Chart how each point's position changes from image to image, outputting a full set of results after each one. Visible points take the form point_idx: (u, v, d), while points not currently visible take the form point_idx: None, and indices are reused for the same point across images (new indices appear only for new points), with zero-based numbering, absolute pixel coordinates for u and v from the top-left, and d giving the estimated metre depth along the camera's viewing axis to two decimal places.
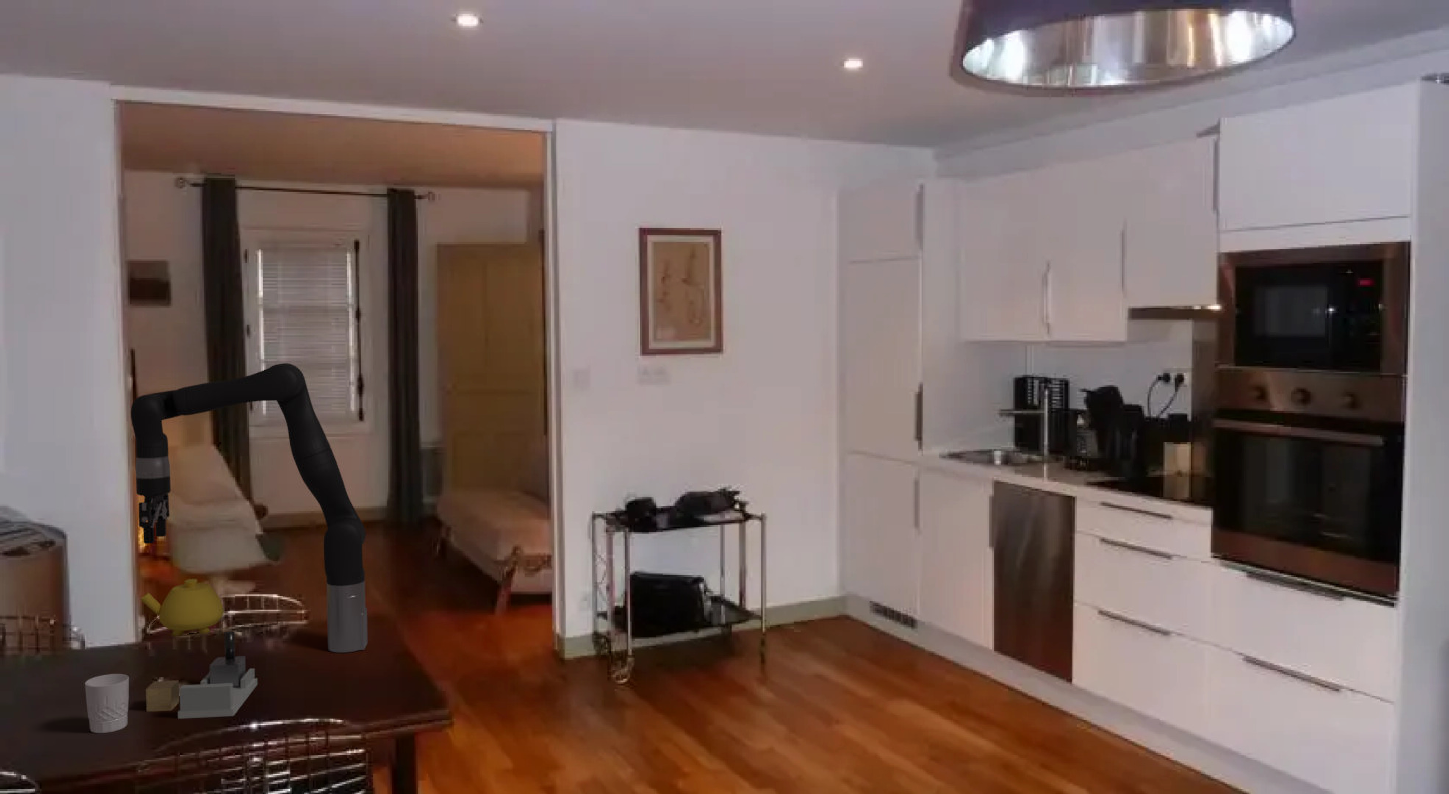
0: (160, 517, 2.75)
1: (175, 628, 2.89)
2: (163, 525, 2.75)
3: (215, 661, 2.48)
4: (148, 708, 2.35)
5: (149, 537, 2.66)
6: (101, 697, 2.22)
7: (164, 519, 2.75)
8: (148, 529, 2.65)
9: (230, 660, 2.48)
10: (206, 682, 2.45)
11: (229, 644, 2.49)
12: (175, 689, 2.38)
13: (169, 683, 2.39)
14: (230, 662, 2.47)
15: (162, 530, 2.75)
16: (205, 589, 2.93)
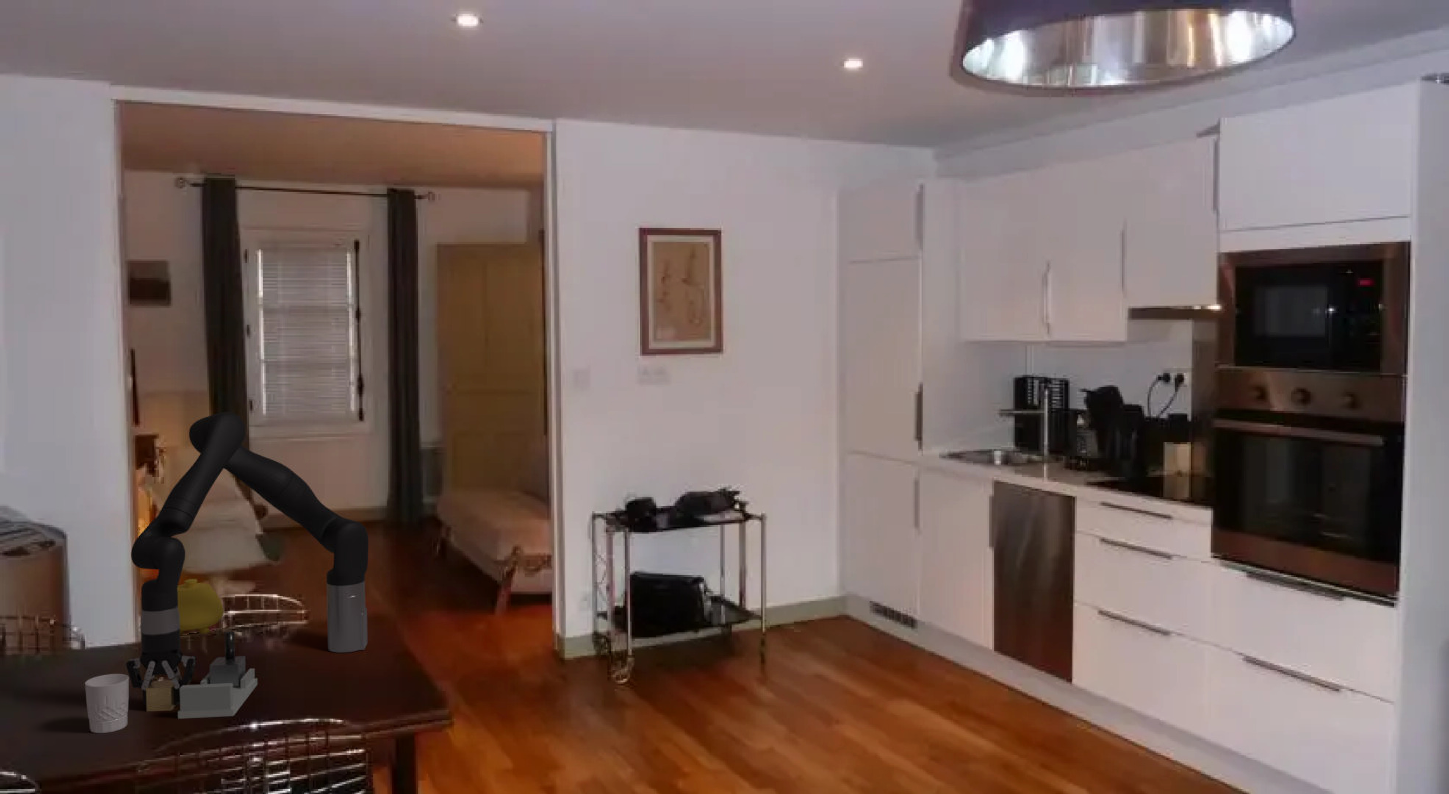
0: None
1: None
2: None
3: (215, 661, 2.48)
4: (148, 707, 2.35)
5: None
6: (101, 697, 2.22)
7: (150, 683, 2.38)
8: None
9: (230, 660, 2.48)
10: (206, 682, 2.45)
11: (229, 644, 2.49)
12: None
13: (169, 682, 2.39)
14: (230, 662, 2.47)
15: None
16: (205, 589, 2.93)
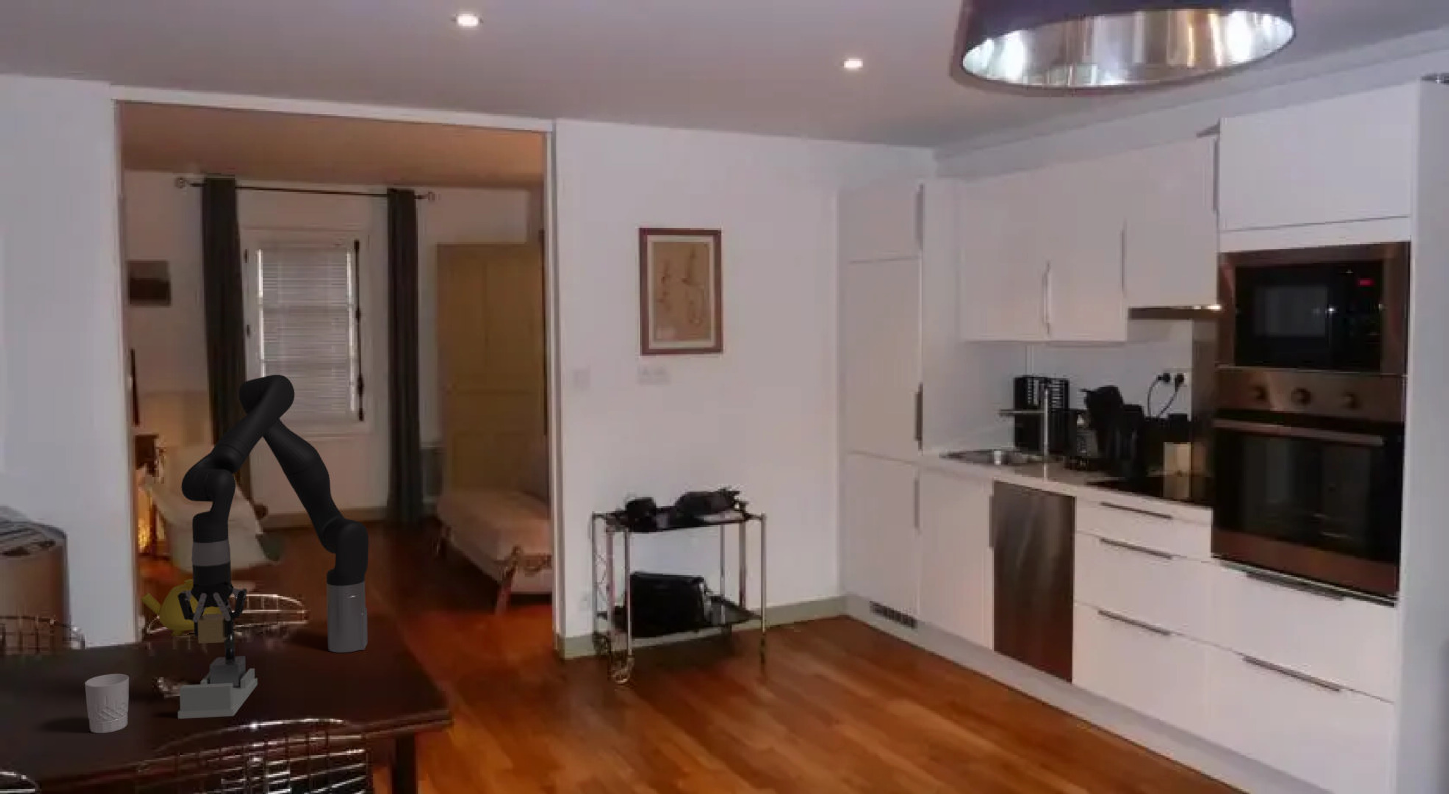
0: (199, 616, 2.38)
1: (175, 628, 2.89)
2: None
3: (215, 661, 2.48)
4: (200, 639, 2.36)
5: (233, 628, 2.39)
6: (101, 697, 2.22)
7: (201, 616, 2.39)
8: None
9: (230, 660, 2.48)
10: (206, 682, 2.45)
11: (229, 644, 2.49)
12: None
13: (220, 615, 2.39)
14: (230, 662, 2.47)
15: None
16: None
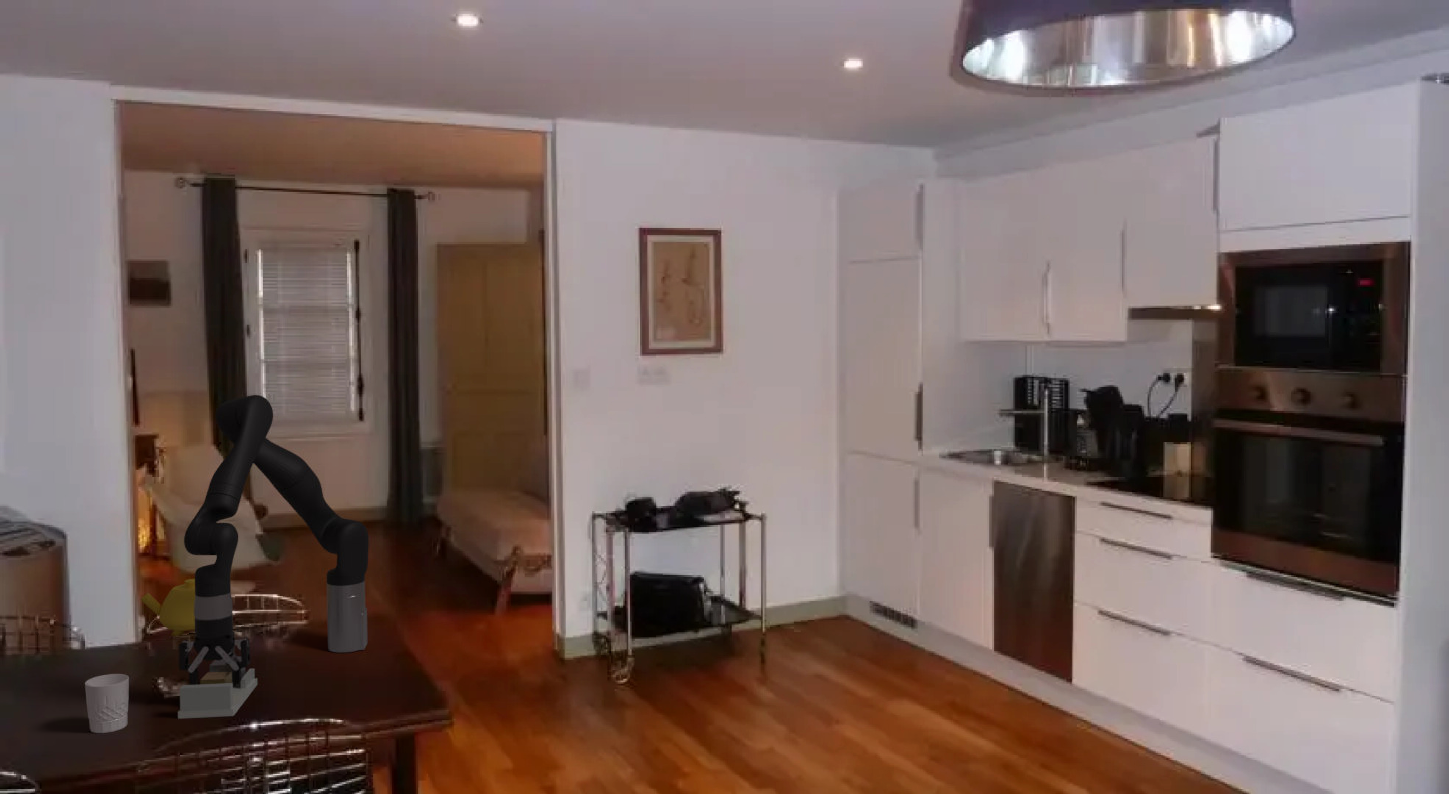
0: None
1: (175, 628, 2.89)
2: (198, 674, 2.39)
3: (215, 661, 2.48)
4: None
5: (241, 677, 2.40)
6: (101, 697, 2.22)
7: None
8: (240, 669, 2.40)
9: None
10: None
11: None
12: (228, 680, 2.40)
13: (222, 674, 2.40)
14: None
15: (197, 680, 2.39)
16: None
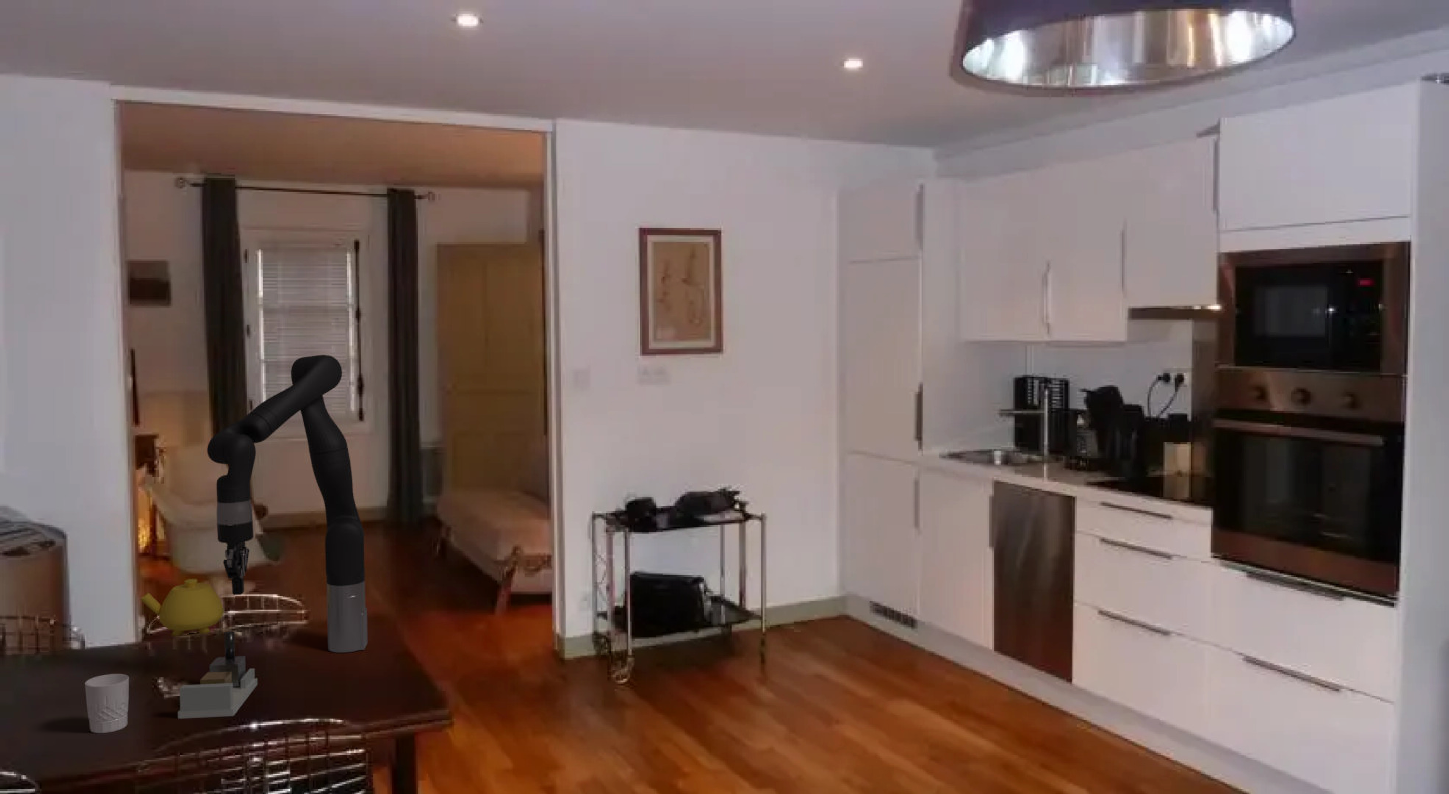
0: None
1: (175, 628, 2.89)
2: None
3: (215, 661, 2.48)
4: None
5: None
6: (101, 697, 2.22)
7: None
8: None
9: (230, 660, 2.48)
10: None
11: (229, 644, 2.49)
12: (228, 680, 2.40)
13: (222, 674, 2.40)
14: (230, 662, 2.47)
15: None
16: (205, 589, 2.93)
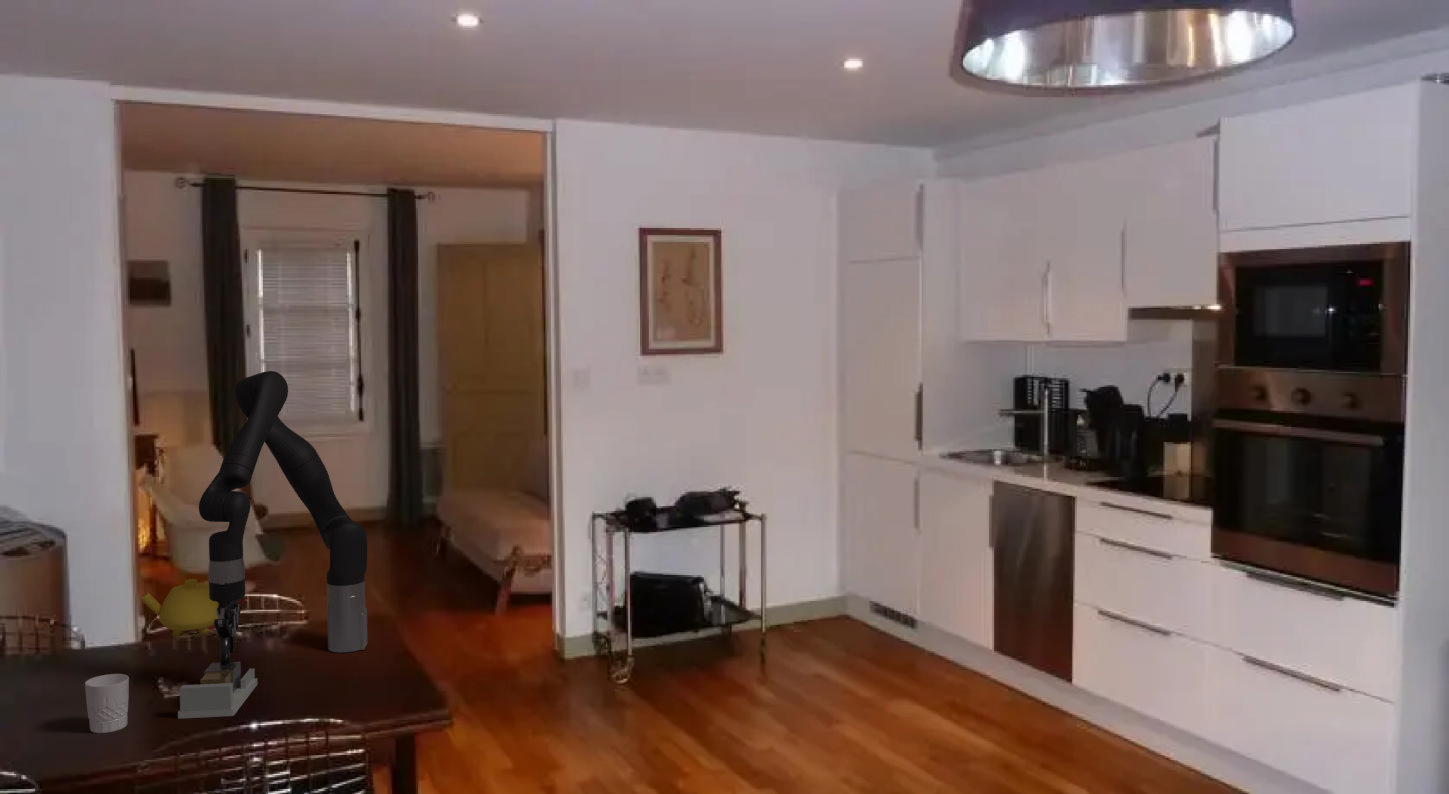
0: None
1: (175, 628, 2.89)
2: None
3: (210, 667, 2.44)
4: None
5: None
6: (101, 697, 2.22)
7: None
8: None
9: (225, 666, 2.45)
10: None
11: (224, 649, 2.45)
12: (228, 680, 2.40)
13: (222, 674, 2.40)
14: (225, 667, 2.43)
15: None
16: (205, 589, 2.93)
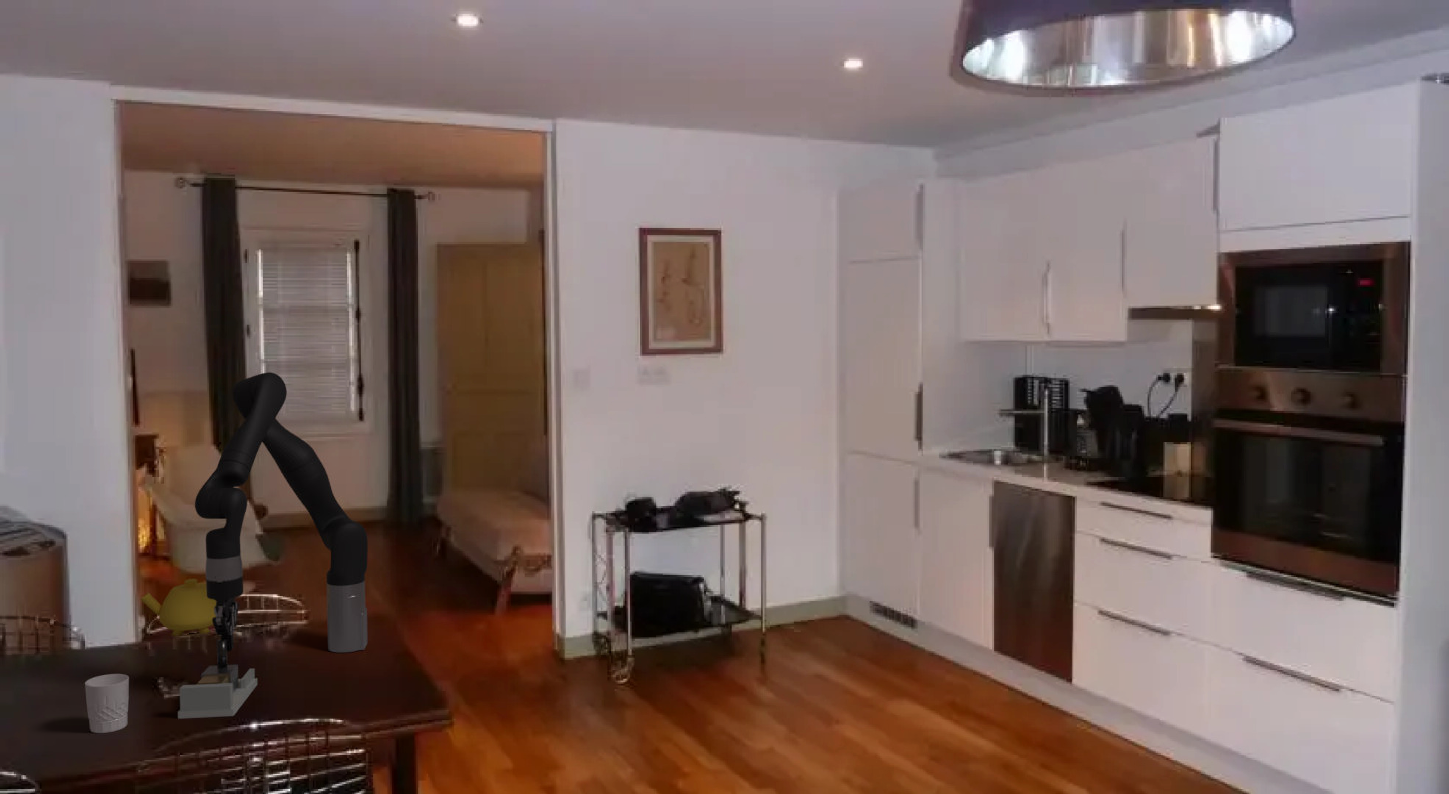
0: None
1: (175, 628, 2.89)
2: None
3: (207, 670, 2.42)
4: None
5: None
6: (101, 697, 2.22)
7: None
8: None
9: (222, 669, 2.42)
10: None
11: (221, 652, 2.43)
12: None
13: (220, 677, 2.38)
14: (222, 670, 2.41)
15: None
16: (205, 589, 2.93)
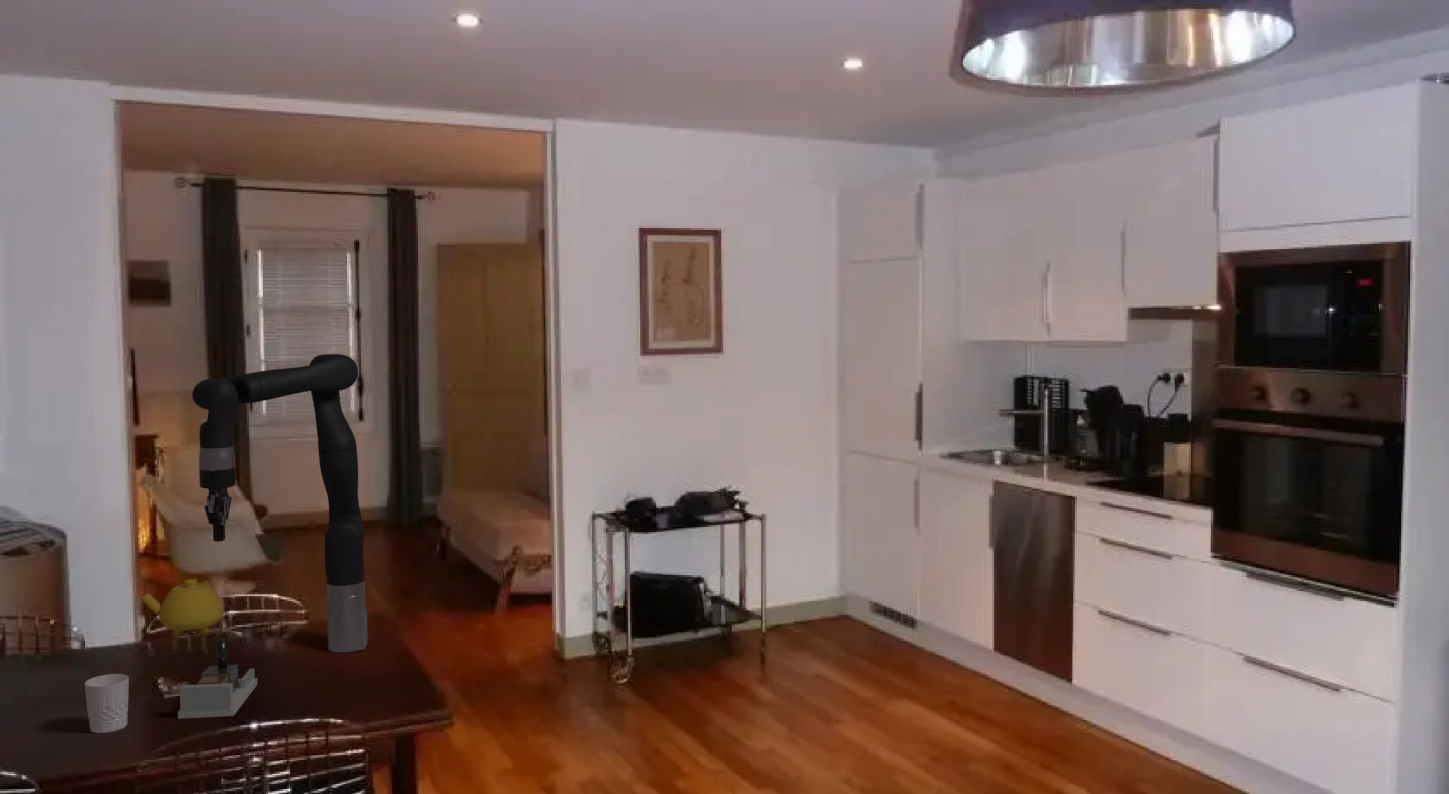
0: None
1: (175, 628, 2.89)
2: None
3: (207, 670, 2.42)
4: None
5: None
6: (101, 697, 2.22)
7: None
8: None
9: (222, 669, 2.42)
10: None
11: (221, 652, 2.43)
12: None
13: (220, 677, 2.38)
14: (222, 670, 2.41)
15: None
16: (205, 589, 2.93)
